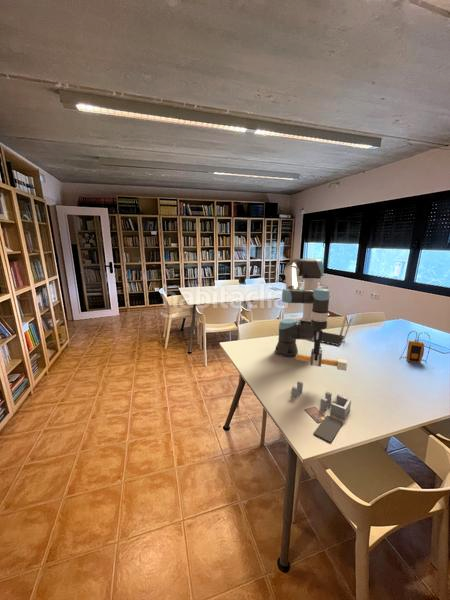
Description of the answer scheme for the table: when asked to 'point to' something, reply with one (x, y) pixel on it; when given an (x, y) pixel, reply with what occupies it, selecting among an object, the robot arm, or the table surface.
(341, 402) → the end holder
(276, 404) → the table surface
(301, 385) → the clip
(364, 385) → the table surface
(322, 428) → the smartphone
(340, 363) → the orange rod with blocks
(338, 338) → the wireless router
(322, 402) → the clip
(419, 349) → the multimeter
